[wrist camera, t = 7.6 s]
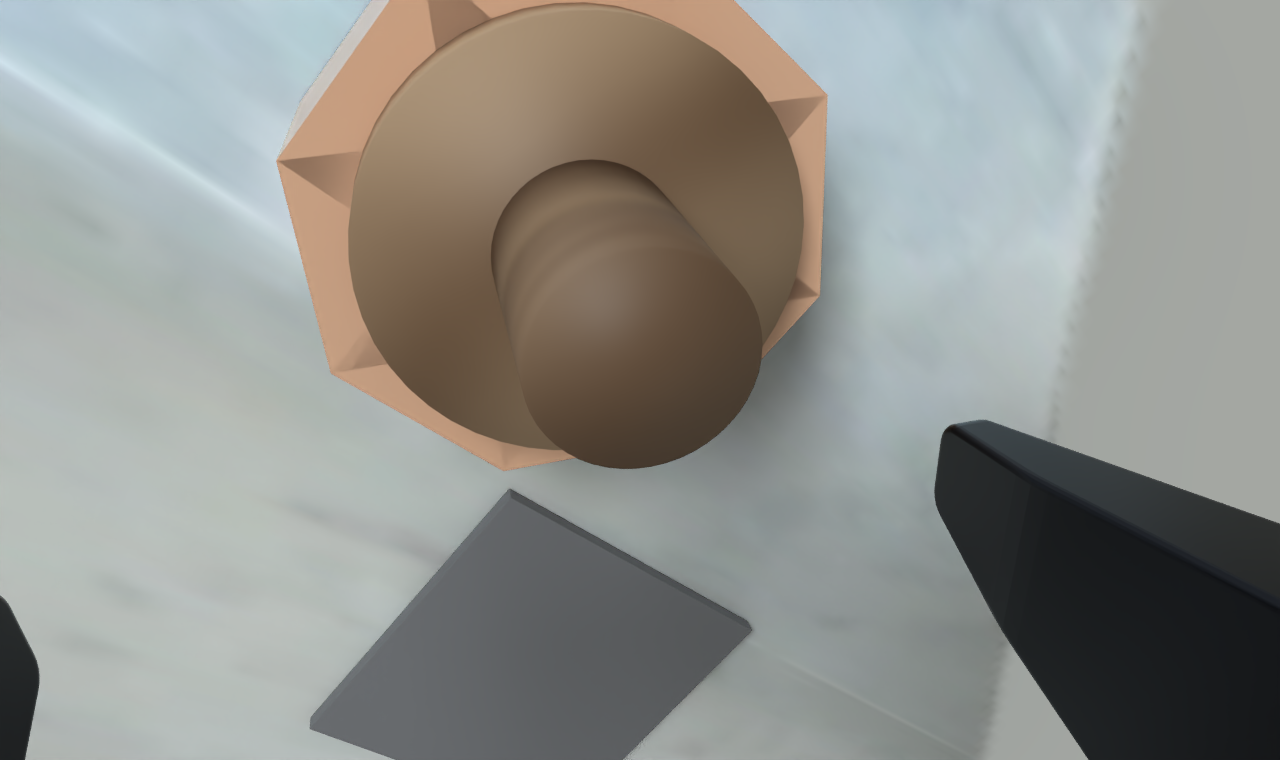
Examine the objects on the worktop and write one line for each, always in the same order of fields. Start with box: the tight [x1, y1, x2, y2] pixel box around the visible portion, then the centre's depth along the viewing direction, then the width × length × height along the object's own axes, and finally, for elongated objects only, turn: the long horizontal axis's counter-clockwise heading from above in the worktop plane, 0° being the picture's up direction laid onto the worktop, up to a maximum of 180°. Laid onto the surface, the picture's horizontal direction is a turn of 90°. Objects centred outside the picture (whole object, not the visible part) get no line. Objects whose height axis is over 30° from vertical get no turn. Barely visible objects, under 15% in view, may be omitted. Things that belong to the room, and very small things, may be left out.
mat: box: [310, 489, 752, 760], centre depth 27 cm, size 9×9×1 cm
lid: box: [348, 2, 804, 469], centre depth 14 cm, size 8×8×5 cm
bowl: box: [276, 0, 827, 471], centre depth 18 cm, size 9×9×4 cm
